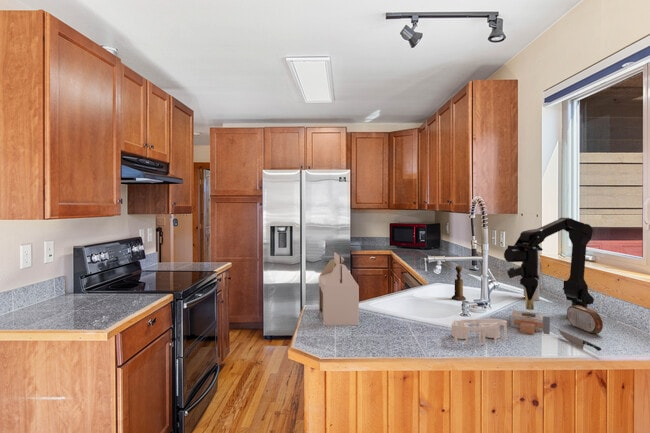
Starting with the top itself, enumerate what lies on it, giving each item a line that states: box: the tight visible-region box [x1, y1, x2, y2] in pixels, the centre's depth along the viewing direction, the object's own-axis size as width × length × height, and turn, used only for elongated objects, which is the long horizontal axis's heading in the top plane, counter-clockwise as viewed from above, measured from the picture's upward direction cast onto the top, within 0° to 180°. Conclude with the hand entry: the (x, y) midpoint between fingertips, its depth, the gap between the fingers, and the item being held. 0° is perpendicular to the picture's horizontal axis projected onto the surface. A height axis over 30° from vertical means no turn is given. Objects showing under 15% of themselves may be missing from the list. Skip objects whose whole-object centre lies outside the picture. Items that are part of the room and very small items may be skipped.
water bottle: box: [523, 251, 544, 302], centre depth 190 cm, size 9×8×25 cm
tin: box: [566, 305, 604, 334], centre depth 142 cm, size 15×3×8 cm, turn 4°
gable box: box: [318, 251, 360, 326], centre depth 150 cm, size 22×13×28 cm, turn 6°
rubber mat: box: [543, 315, 551, 335], centre depth 150 cm, size 26×14×1 cm, turn 149°
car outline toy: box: [451, 318, 508, 346], centre depth 128 cm, size 20×11×7 cm, turn 95°
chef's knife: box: [557, 328, 602, 352], centre depth 124 cm, size 19×1×3 cm, turn 4°
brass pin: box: [525, 293, 535, 311], centre depth 155 cm, size 3×3×10 cm
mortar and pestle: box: [451, 265, 467, 302], centre depth 186 cm, size 7×6×18 cm
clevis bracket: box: [510, 309, 544, 335], centre depth 143 cm, size 16×10×5 cm
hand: (529, 299), depth 155 cm, fingers closed on brass pin, 3 cm apart
